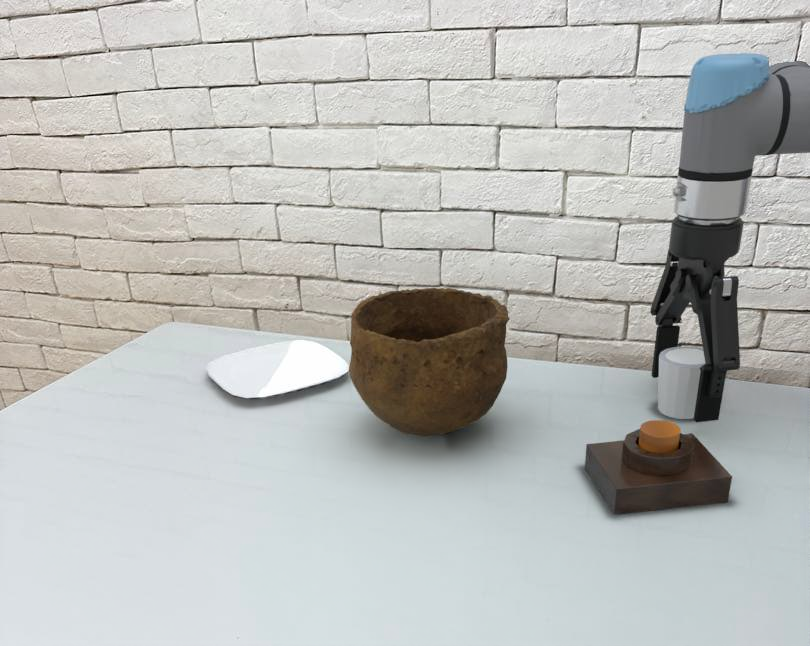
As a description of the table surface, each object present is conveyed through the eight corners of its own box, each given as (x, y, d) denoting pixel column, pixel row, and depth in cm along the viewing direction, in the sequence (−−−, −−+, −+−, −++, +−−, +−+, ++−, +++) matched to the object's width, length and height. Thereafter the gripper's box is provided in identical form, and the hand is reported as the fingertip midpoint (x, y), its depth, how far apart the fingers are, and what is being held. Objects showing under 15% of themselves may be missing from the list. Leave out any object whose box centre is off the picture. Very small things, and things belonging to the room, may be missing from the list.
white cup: (722, 410, 105) (731, 356, 101) (684, 426, 102) (692, 371, 98) (678, 393, 110) (685, 341, 106) (641, 408, 107) (646, 354, 103)
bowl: (540, 434, 102) (545, 312, 94) (405, 479, 95) (398, 351, 86) (454, 384, 116) (451, 274, 108) (330, 420, 108) (317, 304, 100)
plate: (241, 414, 111) (239, 402, 110) (196, 371, 124) (194, 360, 123) (363, 381, 118) (362, 370, 117) (309, 344, 132) (308, 333, 131)
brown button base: (688, 457, 96) (694, 416, 93) (727, 502, 87) (735, 458, 85) (584, 468, 95) (587, 427, 92) (613, 514, 86) (618, 471, 84)
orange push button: (669, 435, 90) (671, 418, 89) (684, 453, 87) (686, 435, 86) (632, 439, 90) (634, 422, 89) (646, 457, 87) (648, 438, 86)
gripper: (635, 196, 103) (619, 362, 115) (724, 248, 83) (694, 445, 94) (695, 191, 104) (673, 357, 116) (798, 242, 83) (759, 438, 95)
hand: (682, 397), depth 105 cm, fingers open, 13 cm apart
